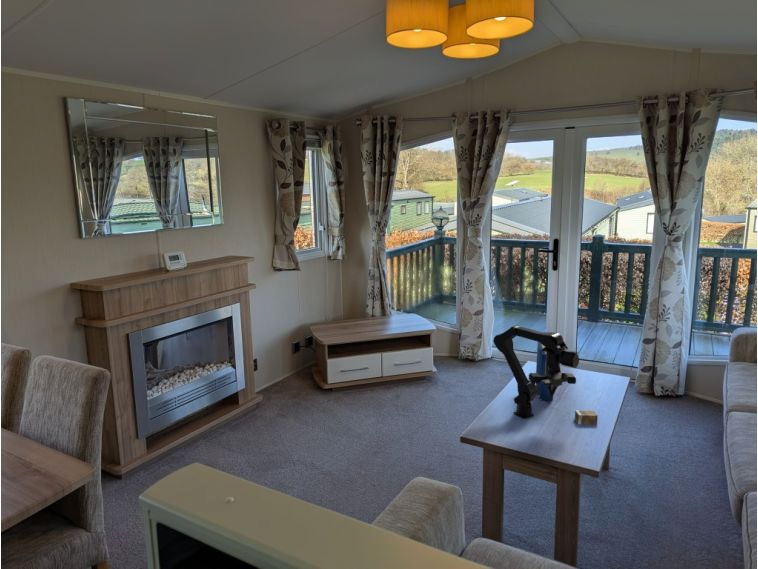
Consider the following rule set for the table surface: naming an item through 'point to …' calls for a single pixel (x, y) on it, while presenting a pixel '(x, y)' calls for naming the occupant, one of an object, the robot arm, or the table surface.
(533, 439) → the table surface
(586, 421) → the brown rectangular block
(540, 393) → the book
